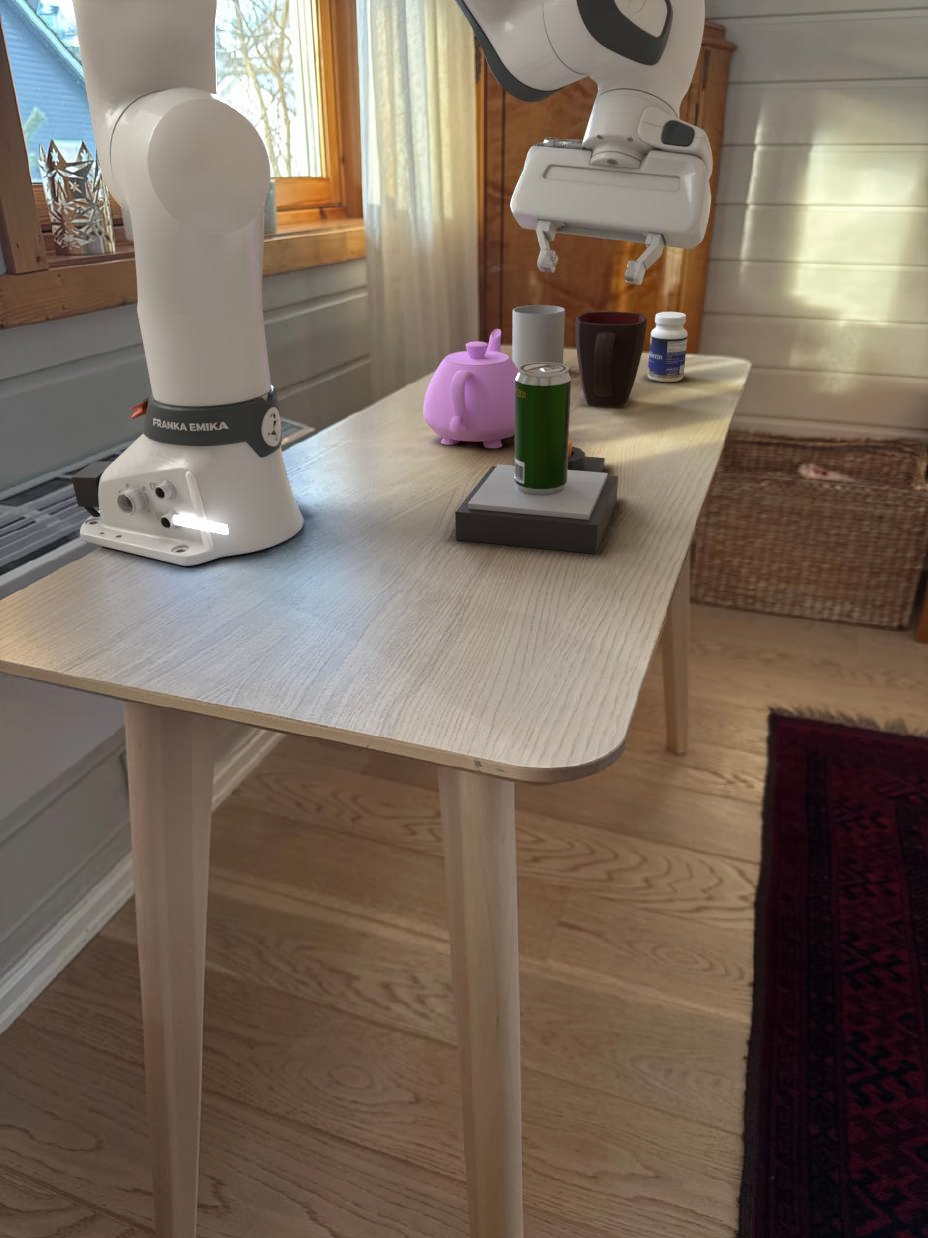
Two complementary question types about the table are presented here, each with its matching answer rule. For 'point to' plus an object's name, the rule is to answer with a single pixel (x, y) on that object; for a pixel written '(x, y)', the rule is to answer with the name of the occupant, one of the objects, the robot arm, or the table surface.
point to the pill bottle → (668, 347)
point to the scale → (538, 512)
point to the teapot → (473, 395)
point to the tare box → (584, 462)
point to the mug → (609, 355)
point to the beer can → (541, 427)
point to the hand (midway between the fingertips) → (587, 275)
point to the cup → (538, 334)
